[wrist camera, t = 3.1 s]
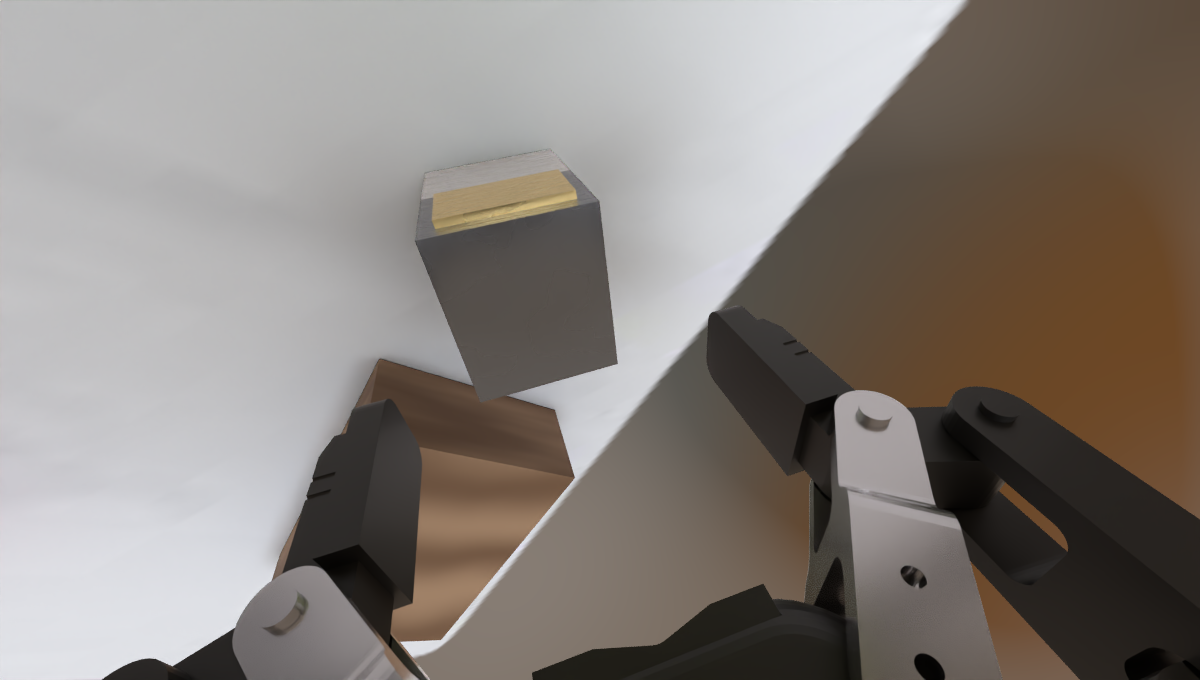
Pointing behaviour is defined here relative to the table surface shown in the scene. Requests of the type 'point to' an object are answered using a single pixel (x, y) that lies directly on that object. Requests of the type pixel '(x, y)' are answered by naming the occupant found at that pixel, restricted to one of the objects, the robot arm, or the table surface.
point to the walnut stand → (466, 488)
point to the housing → (518, 270)
